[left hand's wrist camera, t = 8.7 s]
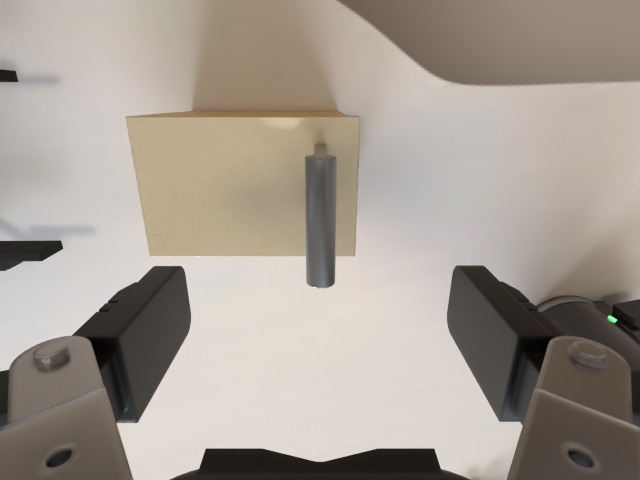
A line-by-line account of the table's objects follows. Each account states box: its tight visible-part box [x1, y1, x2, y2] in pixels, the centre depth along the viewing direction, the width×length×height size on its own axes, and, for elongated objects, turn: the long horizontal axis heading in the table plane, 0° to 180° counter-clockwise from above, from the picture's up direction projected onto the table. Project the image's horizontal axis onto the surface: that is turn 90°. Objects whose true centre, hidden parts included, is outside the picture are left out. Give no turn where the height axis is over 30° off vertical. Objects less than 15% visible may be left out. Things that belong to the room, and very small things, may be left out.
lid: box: [126, 116, 360, 288], centre depth 21 cm, size 14×9×8 cm, turn 90°
